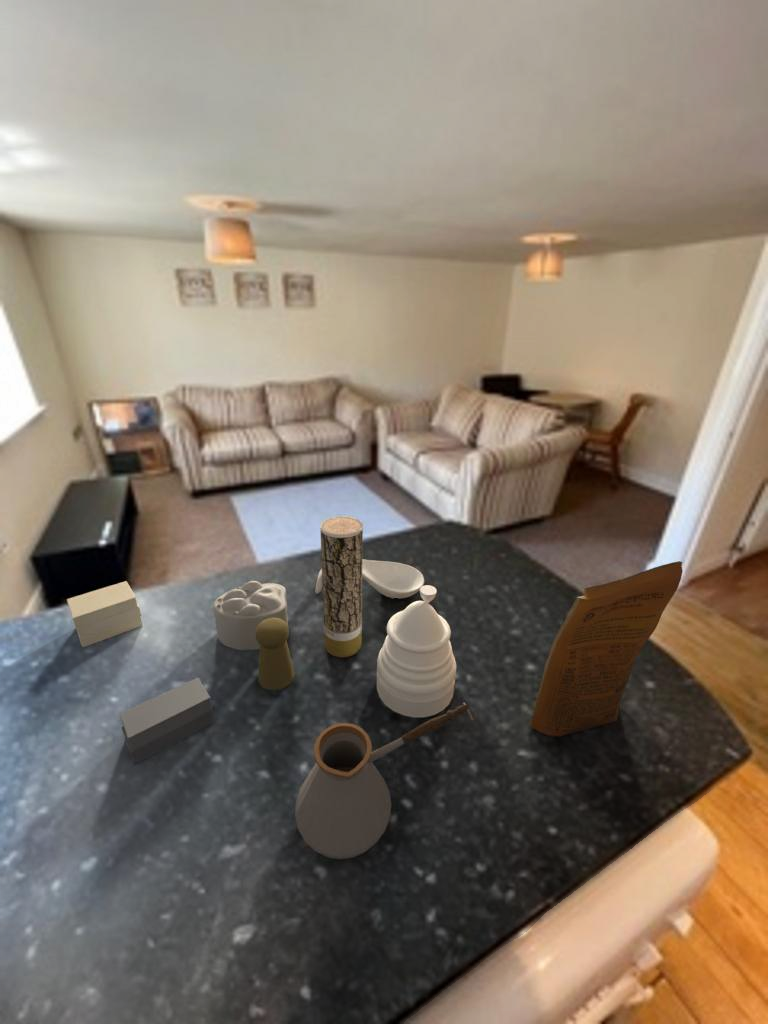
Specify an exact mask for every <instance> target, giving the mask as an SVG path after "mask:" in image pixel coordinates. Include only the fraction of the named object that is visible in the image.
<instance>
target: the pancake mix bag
mask: <svg viewBox="0 0 768 1024" xmlns="http://www.w3.org/2000/svg"><path fill="white" fill-rule="evenodd" d="M683 572H684V571H683V561H673V562H669V563H666V564H662V565H659V566H655V567H652V568H649V569H645V570H644V571H640V572H638V573H634V574H633V575H630V576H627V577H624V578H620V579H617V580H613V581H609V582H606V583H603V584H597V585H594V586H593V585H592V586H589V587H584V591H583V595H581V596H580V595H579V596H576V597H575V599H574V601H573V604H572V605H571V607H570V609H569V611H568V613H567V614H566V617H565V619H564V621H563V623H562V624H561V626H560V627H559V629H558V632H557V633H556V635H555V637H554V640H553V642H552V644H551V646H550V650H549V653H548V656H547V659H546V662H545V664H544V670H543V674H542V676H541V677H542V678H541V683H540V686H539V690H538V693H537V696H536V701H535V705H534V712H533V715H532V718H531V721H530V722H529V725H528V727H529V728H531V729H533V730H536V731H537V732H540V733H542V734H543V735H546V736H548V737H549V736H550V737H557V738H558V737H559V738H560V737H563V736H564V737H565V736H568V735H571V734H575V733H579V732H584V731H585V730H586V729H587V730H590V729H593V728H596V727H597V728H598V727H600V725H601V726H606V725H610V724H613V723H612V722H614V723H616V721H617V719H618V717H619V714H620V713H619V712H620V707H621V702H622V699H623V696H624V693H625V690H626V687H627V684H628V681H629V679H630V676H631V674H632V671H633V668H634V665H635V663H636V661H637V658H638V655H639V653H640V651H641V650H642V648H643V647H644V646H645V644H646V643H647V641H648V640H649V639H650V638H651V636H652V635H653V633H654V632H655V630H656V629H657V626H658V625H659V622H660V620H661V617H662V615H663V613H664V611H665V610H666V608H667V606H668V604H669V603H670V601H671V600H672V599H673V597H674V595H675V594H676V592H677V590H678V588H679V586H680V583H681V580H682V576H683ZM609 723H610V724H609ZM605 724H606V725H605Z"/></svg>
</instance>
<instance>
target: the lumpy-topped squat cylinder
mask: <svg viewBox="0 0 768 1024" xmlns="http://www.w3.org/2000/svg"><path fill="white" fill-rule="evenodd" d="M287 601H288V600H287V589H286V587H284V586H283V585H281V584H279V583H272V582H271V583H260V582H259V581H256V580H251V581H247V582H246V583H244V584H243V585H242V586H238V587H236V588H234V589H231V590H229V591H226V592H225V593H223V594H222V595H220V596H219V597H218V598H216V600H215V601H214V602H213V607H212V608H213V614H214V620H215V627H216V632H217V633H216V634H217V639H218V641H219V642H220V643H221V644H222V645H224V646H225V647H228V648H231V649H234V650H239V651H254V650H260V645H259V643H258V642H257V640H256V633H255V632H256V629H257V626H258V625H259V624H260V623H261V622H262V621H263V620H265V619H268V618H280V619H282V620H284V621H285V622H286V624H287V625H288V626H289V615H288V602H287ZM289 635H290V634H289ZM289 635H288V638H289Z"/></svg>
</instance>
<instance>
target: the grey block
mask: <svg viewBox="0 0 768 1024" xmlns="http://www.w3.org/2000/svg"><path fill="white" fill-rule="evenodd" d="M119 718H120V722H121V724H122V726H121V730H122V733H123V737H124V740H125V743H126V746H127V748H128V751H129V754H130V757H131V760H132V763H133V765H137V764H138V763H140V762H143V760H146V759H148V758H149V757H152V756H153V755H156V754H157V753H159V752H161V751H163V750H164V749H167V748H168V747H170V746H172V745H174V744H176V743H178V742H180V741H181V740H183V739H185V738H188V737H189V736H192V734H195V733H196V732H199V731H201V730H202V729H204V728H207V727H208V726H210V725H211V724H214V723H215V716H214V711H213V705H212V700H211V696H210V695H209V693H208V692H207V689H206V688H205V686H204V685H203V683H202V681H201V679H200V678H199V677H195V678H193V679H191V680H189V681H187V682H185V683H182V684H180V685H178V686H176V687H174V688H171V689H169V690H167V691H165V692H162V693H160V694H159V695H156V696H154V697H152V698H150V699H147V700H145V701H143V702H141V703H139V704H137V705H134V706H133V707H130V708H129V709H126V710H124V711H122V712H119Z"/></svg>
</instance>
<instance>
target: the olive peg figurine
mask: <svg viewBox="0 0 768 1024" xmlns="http://www.w3.org/2000/svg"><path fill="white" fill-rule="evenodd" d="M255 633H256V640H257V642H258V643H259V645H260V649H259V657H258V672H257V673H258V675H257V681H258V683H259V685H260V687H262V688H263V689H266V690H269V691H278V690H283V689H285V688H286V687H288V686H289V685H290V684H291V683H292V682H293V681H294V679H295V674H296V673H295V669H294V666H293V661H292V656H291V653H290V649H289V645H288V641H287V640H288V639H289V637H288V635H290V629H289V624H288V625H287V624H286V622H285V621H284V620H282V619H280V618H268V619H265V620H263V621H262V622H261V623H260V624H259V625H258V626H257V629H256V632H255Z"/></svg>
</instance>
